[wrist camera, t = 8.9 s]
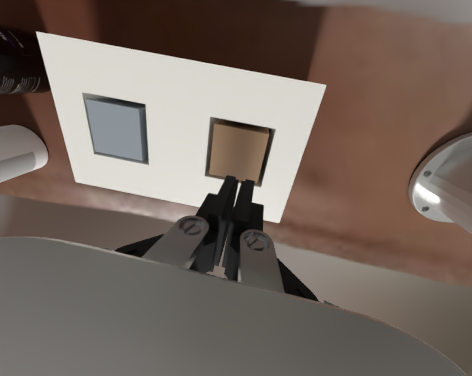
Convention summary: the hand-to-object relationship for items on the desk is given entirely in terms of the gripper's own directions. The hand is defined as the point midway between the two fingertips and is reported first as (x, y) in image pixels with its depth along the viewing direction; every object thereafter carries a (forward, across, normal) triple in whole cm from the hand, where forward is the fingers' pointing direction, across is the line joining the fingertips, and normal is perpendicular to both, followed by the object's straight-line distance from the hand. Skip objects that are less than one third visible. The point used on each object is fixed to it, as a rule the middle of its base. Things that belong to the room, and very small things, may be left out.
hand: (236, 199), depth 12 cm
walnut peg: (+14, +1, 0) cm, 14 cm away
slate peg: (+14, +13, 0) cm, 19 cm away
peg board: (+16, +8, 0) cm, 18 cm away
